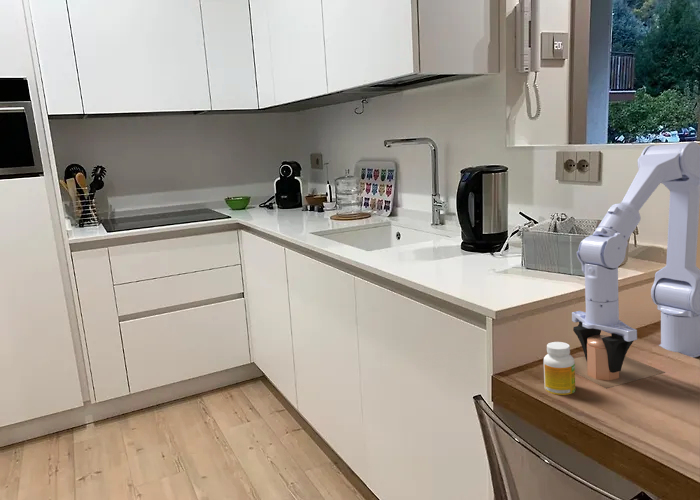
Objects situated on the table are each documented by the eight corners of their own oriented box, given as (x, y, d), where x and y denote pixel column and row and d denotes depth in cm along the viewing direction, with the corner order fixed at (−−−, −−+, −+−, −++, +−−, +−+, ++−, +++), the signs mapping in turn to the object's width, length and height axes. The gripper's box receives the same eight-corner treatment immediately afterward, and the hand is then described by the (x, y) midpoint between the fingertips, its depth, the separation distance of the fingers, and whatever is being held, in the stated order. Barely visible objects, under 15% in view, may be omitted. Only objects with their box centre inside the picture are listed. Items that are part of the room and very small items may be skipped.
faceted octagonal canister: (604, 366, 107) (603, 333, 106) (625, 376, 102) (625, 341, 101) (581, 372, 106) (580, 338, 105) (602, 382, 101) (601, 346, 99)
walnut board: (609, 355, 116) (609, 349, 115) (665, 378, 102) (665, 372, 102) (555, 368, 112) (555, 363, 111) (606, 394, 98) (606, 388, 98)
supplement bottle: (578, 401, 97) (576, 350, 95) (547, 401, 98) (545, 350, 97) (572, 388, 102) (570, 339, 101) (542, 388, 103) (540, 340, 102)
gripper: (558, 294, 107) (560, 358, 109) (614, 311, 93) (615, 383, 96) (587, 288, 109) (589, 351, 111) (645, 304, 96) (646, 375, 98)
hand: (603, 365), depth 104 cm, fingers closed on faceted octagonal canister, 5 cm apart
